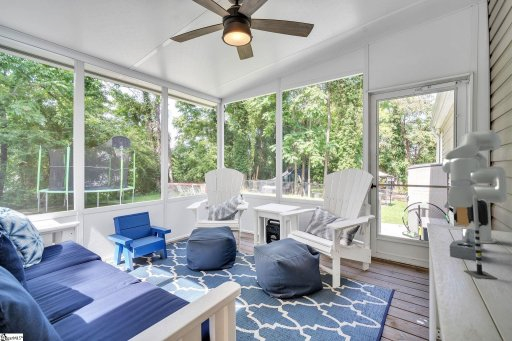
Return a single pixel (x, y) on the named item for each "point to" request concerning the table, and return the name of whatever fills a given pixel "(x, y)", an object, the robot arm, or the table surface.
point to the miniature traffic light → (478, 215)
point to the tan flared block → (462, 216)
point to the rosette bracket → (464, 245)
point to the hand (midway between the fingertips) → (463, 221)
